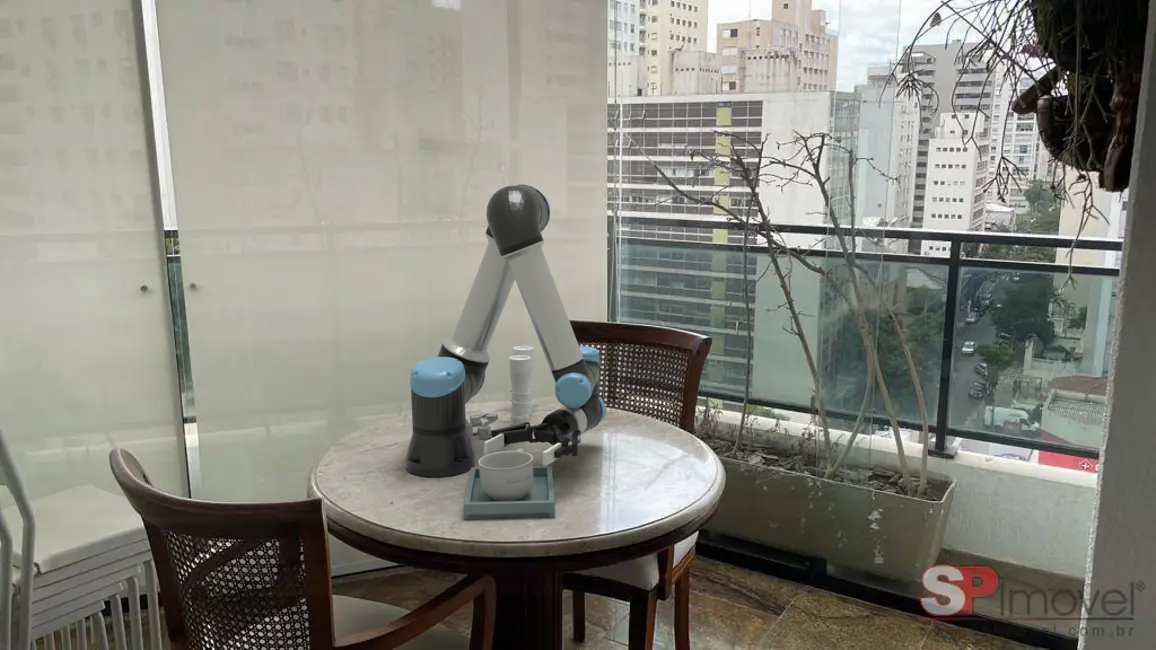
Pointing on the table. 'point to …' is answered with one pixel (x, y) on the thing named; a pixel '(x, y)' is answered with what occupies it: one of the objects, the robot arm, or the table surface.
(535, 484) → the tray
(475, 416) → the pulley system
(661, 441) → the table surface
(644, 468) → the table surface
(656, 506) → the table surface
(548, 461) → the robot arm
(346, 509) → the table surface
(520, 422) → the binoculars
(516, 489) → the teacup
